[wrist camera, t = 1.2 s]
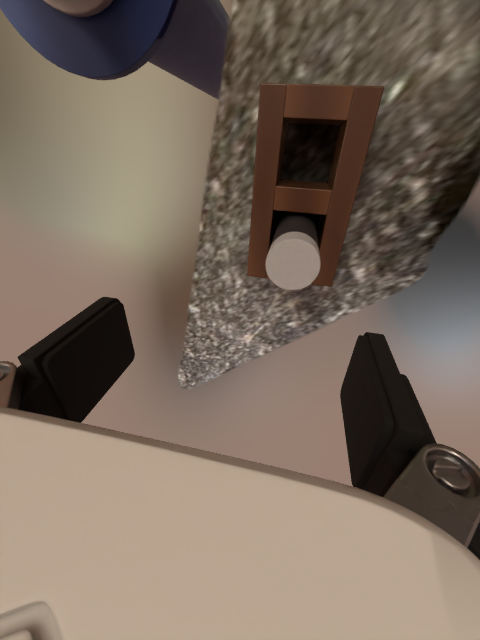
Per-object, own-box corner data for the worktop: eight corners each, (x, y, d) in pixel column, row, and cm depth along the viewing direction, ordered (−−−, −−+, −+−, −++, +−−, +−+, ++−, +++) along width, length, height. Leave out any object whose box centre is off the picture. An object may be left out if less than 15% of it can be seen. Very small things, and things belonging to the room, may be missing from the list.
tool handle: (277, 239, 32) (262, 286, 21) (281, 203, 30) (268, 235, 19) (311, 243, 31) (314, 293, 21) (318, 207, 29) (326, 242, 18)
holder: (255, 257, 34) (247, 275, 29) (269, 95, 25) (260, 82, 20) (327, 265, 32) (331, 287, 27) (368, 98, 24) (384, 86, 19)
